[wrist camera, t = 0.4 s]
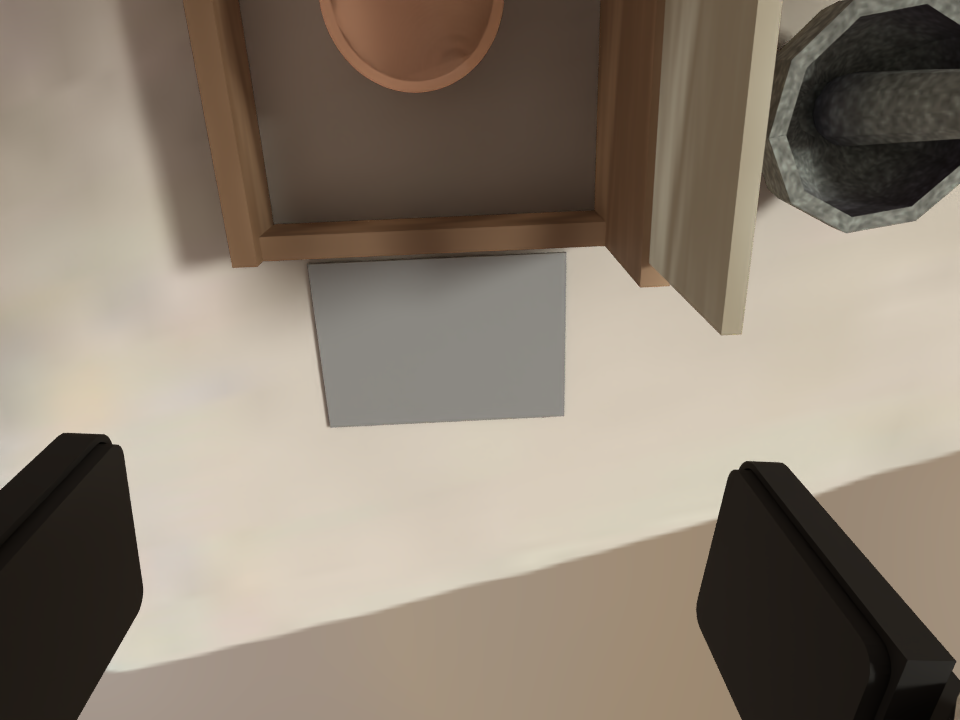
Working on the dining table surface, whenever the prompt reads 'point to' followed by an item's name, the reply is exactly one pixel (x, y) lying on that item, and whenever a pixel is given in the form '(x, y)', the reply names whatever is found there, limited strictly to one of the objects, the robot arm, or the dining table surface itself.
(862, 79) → the mortar and pestle
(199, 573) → the dining table surface
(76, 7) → the dining table surface
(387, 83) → the terracotta pot
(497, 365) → the slate mat
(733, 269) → the box
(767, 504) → the robot arm
